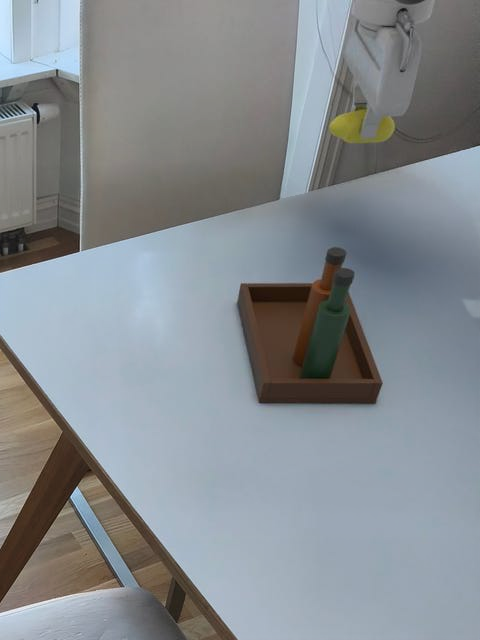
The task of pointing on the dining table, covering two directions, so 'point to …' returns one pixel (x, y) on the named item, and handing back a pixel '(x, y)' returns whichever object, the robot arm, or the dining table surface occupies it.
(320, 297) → the amber bottle
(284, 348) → the tray
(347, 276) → the green bottle
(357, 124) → the lemon
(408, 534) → the dining table surface
